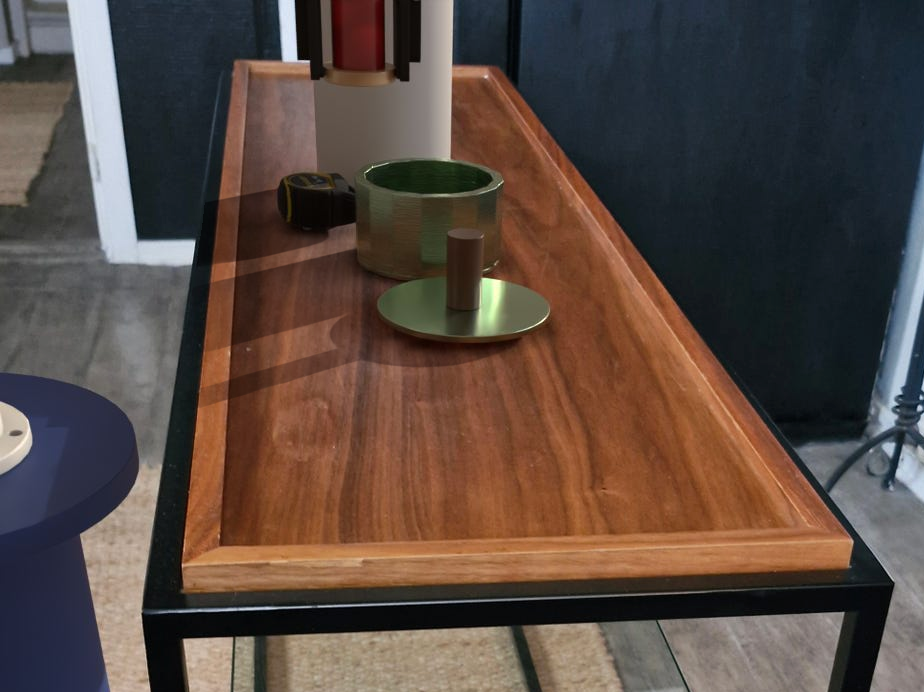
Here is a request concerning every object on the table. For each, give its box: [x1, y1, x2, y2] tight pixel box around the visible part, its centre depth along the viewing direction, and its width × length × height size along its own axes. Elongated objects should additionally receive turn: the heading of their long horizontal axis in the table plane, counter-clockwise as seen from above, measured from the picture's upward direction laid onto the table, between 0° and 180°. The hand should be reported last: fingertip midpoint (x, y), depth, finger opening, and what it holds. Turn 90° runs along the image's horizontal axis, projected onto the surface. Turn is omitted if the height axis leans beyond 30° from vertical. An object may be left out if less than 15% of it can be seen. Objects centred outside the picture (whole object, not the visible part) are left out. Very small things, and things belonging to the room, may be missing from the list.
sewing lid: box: [376, 228, 551, 344], centre depth 88 cm, size 13×13×6 cm
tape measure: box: [276, 171, 356, 231], centre depth 105 cm, size 7×7×4 cm
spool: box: [322, 0, 396, 87], centre depth 68 cm, size 4×4×6 cm
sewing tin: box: [354, 158, 505, 282], centre depth 98 cm, size 12×12×6 cm
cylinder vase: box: [312, 0, 454, 189], centre depth 108 cm, size 12×12×25 cm
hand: (359, 72), depth 69 cm, fingers closed on spool, 4 cm apart
